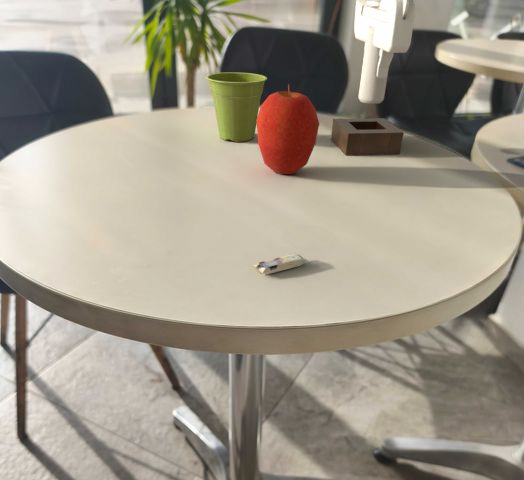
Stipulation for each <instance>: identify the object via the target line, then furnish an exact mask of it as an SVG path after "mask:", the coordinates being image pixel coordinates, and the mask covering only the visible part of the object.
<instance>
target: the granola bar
mask: <svg viewBox="0 0 524 480" xmlns="http://www.w3.org/2000/svg"><path fill="white" fill-rule="evenodd" d="M308 263H310V261H309V260H308V259H307V258H304V257H303V256H302V255H301V254H299V253H298V254H296V253H291V254H288V255H283V256H278V257H275V258H271V259H267V260H263V261H260V262H258V263H257V264H253V265H252V266H251V267H252V268H253V269H255V270H256V271H257V272H258V273H259V274H260V275H261V274H263V275H264V276H266V275H272V274H274V273H278V272H283V271H285V270H290V269H294V268H298V267H300V266H302V265H304V264H308Z"/></svg>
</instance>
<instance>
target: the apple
mask: <svg viewBox="0 0 524 480" xmlns="http://www.w3.org/2000/svg"><path fill="white" fill-rule="evenodd" d="M287 88H288V89H287V90H280V91H276V92H273V93H271V94H269V95H268V96H267V98H266V99H265V100H264V101H263V102H262V103H261V105H260V107H259V110H258V117H257V120H256V121H257V123H256V135H257V145H258V148H259V151H260V155H261V157H262V161H263V163H264V165H266V167H268V168H269V169H270V170H271V171H272V172H273V173H275V174H280V175H292V174H295V173H297V172H299V171H300V170H301V169H302V168H304V167H305V166H306V165H307V164H308V163H309V159H310V157H311V155H312V153H313V150H314V148H315V146H316V143H317V139H318V133H319V127H320V120H319V116H318V113H317V109H316V108H315V106H314V105H313V103H312V101H311V99H309V97H308V96H307V95H305V94H303V93H299V92H294V91H290V90H291V89H290V84H288V85H287Z"/></svg>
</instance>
